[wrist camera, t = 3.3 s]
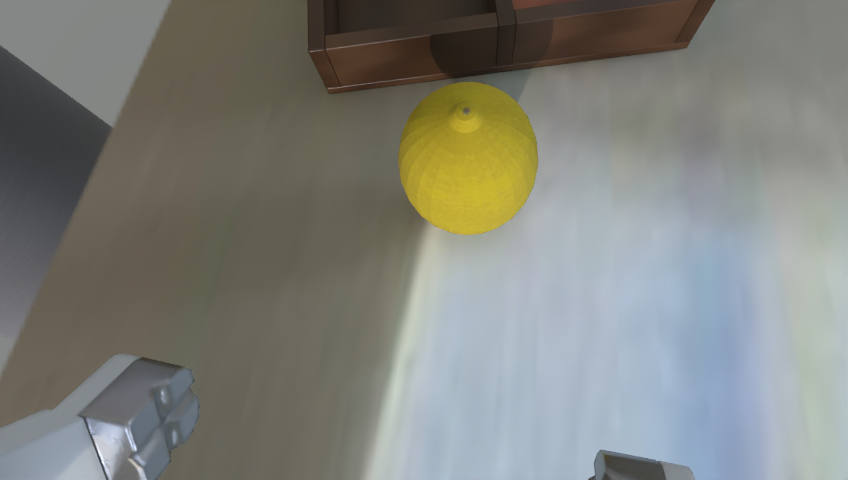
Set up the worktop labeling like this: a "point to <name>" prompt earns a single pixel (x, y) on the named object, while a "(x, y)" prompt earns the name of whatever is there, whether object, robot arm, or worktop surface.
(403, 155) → the lemon
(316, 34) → the grid
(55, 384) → the worktop surface
